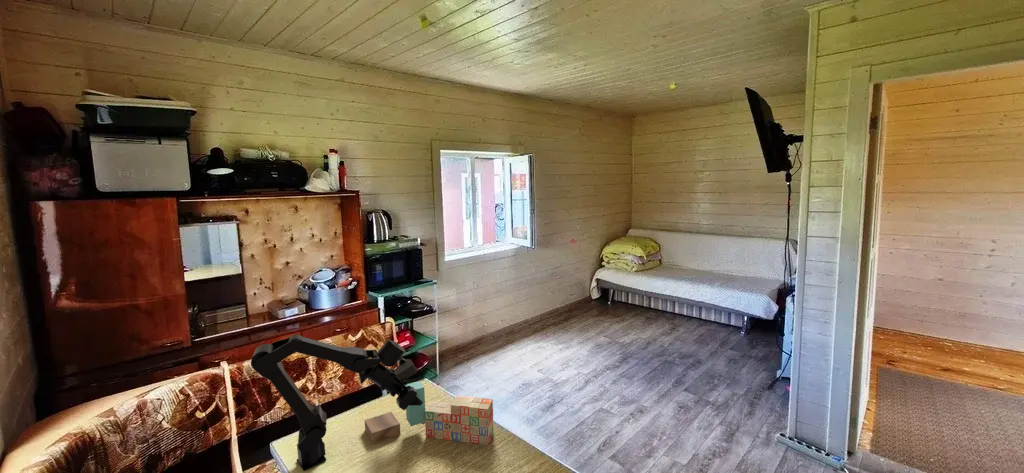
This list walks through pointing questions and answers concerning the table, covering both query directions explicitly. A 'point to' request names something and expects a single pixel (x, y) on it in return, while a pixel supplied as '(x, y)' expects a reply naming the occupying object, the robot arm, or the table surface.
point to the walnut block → (382, 427)
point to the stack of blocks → (461, 420)
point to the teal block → (416, 406)
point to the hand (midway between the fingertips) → (419, 400)
